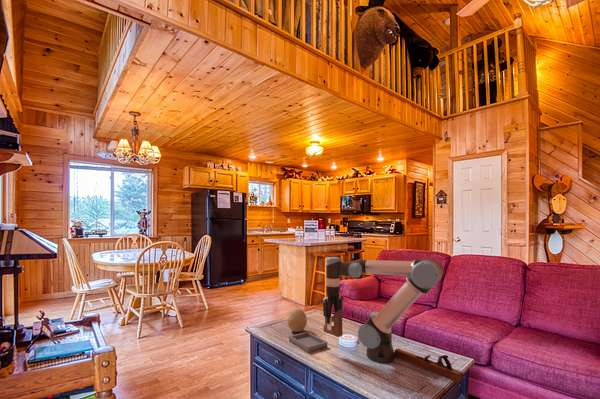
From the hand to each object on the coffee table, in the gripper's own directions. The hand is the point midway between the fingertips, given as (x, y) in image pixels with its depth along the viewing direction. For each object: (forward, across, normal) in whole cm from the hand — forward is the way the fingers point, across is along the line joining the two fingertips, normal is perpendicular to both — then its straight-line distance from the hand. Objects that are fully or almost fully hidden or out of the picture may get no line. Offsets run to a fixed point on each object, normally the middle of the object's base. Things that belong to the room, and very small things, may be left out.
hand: (332, 328), depth 171 cm
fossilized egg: (+14, -3, -38) cm, 41 cm away
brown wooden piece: (+3, 0, 0) cm, 3 cm away
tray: (+14, +3, -18) cm, 23 cm away
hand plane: (+15, -31, +37) cm, 50 cm away
